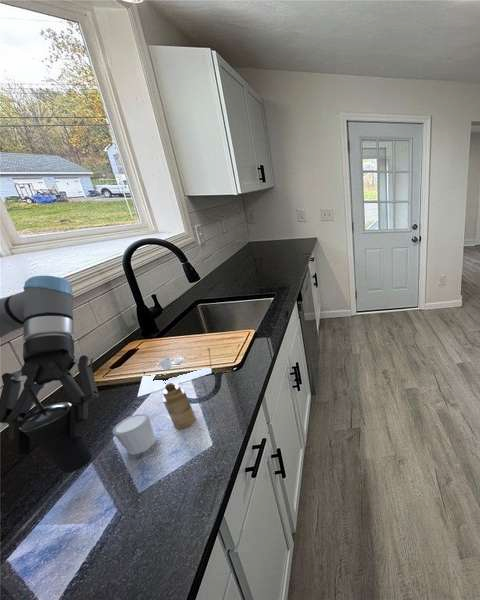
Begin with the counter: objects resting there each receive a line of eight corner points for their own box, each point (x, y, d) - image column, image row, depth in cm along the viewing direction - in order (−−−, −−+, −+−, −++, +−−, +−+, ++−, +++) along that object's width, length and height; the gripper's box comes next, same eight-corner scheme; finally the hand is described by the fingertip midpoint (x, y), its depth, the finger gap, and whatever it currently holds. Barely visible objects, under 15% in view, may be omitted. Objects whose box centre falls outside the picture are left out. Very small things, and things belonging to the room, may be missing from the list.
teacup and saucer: (185, 359, 112) (181, 349, 111) (184, 370, 106) (180, 360, 105) (155, 368, 108) (151, 358, 107) (153, 379, 102) (148, 369, 100)
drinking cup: (99, 443, 74) (57, 373, 66) (101, 462, 68) (55, 389, 60) (54, 464, 69) (2, 391, 61) (52, 486, 64) (-5, 410, 56)
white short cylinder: (144, 456, 74) (133, 434, 71) (116, 457, 74) (104, 435, 71) (165, 433, 80) (155, 412, 77) (139, 434, 80) (128, 413, 77)
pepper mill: (172, 423, 83) (155, 385, 78) (192, 413, 86) (177, 375, 81) (177, 432, 80) (159, 392, 75) (198, 421, 83) (182, 382, 78)
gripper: (115, 333, 77) (123, 427, 69) (0, 358, 69) (-6, 467, 62) (98, 322, 70) (104, 425, 63) (-32, 349, 62) (-42, 469, 55)
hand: (50, 445), depth 62 cm, fingers closed on drinking cup, 8 cm apart
